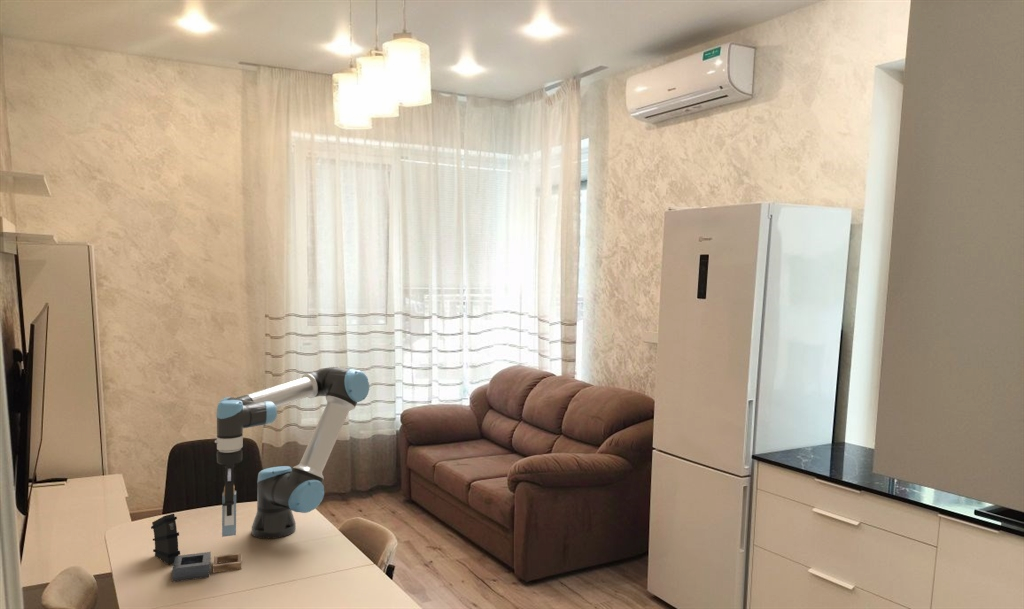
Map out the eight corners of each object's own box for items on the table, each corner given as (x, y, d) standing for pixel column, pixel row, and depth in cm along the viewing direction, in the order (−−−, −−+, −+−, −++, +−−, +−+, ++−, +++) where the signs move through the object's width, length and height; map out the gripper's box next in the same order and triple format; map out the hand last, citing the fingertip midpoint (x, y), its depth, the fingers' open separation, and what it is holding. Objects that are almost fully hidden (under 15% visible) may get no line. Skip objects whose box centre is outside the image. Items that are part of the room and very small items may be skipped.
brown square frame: (241, 558, 209) (241, 552, 209) (241, 568, 201) (241, 562, 201) (214, 562, 205) (214, 556, 205) (213, 572, 198) (213, 566, 198)
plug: (236, 530, 206) (236, 484, 206) (235, 535, 202) (236, 488, 202) (222, 532, 205) (222, 485, 204) (222, 536, 201) (222, 489, 200)
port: (210, 564, 204) (210, 551, 204) (209, 577, 195) (209, 564, 195) (175, 568, 200) (175, 555, 200) (172, 582, 191) (172, 568, 191)
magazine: (172, 563, 200) (163, 515, 204) (155, 570, 208) (148, 524, 211) (184, 559, 203) (176, 512, 207) (168, 566, 211) (160, 521, 214)
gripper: (217, 444, 209) (217, 514, 210) (215, 457, 193) (215, 533, 194) (242, 442, 212) (242, 512, 213) (242, 455, 196) (242, 530, 197)
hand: (229, 522), depth 203 cm, fingers closed on plug, 4 cm apart
